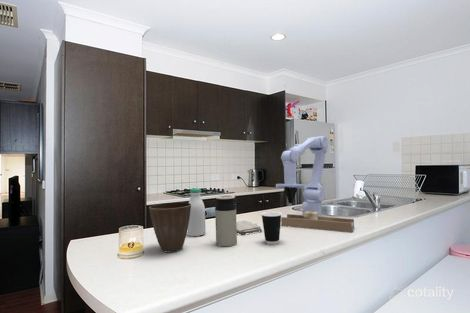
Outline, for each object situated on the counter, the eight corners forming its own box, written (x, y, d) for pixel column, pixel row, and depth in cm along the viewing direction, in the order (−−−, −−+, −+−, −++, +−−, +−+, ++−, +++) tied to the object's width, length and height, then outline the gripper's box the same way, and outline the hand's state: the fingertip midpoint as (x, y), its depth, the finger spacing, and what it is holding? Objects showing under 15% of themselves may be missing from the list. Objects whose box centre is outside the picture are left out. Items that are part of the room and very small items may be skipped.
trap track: (281, 225, 132) (281, 217, 132) (287, 222, 140) (287, 214, 140) (351, 232, 116) (351, 223, 116) (354, 227, 124) (353, 219, 124)
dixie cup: (285, 244, 102) (284, 214, 103) (264, 246, 101) (263, 216, 101) (279, 238, 110) (278, 211, 110) (259, 240, 109) (258, 212, 109)
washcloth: (240, 237, 116) (240, 229, 116) (222, 228, 132) (222, 222, 132) (264, 232, 122) (264, 225, 122) (243, 225, 138) (243, 218, 138)
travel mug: (239, 241, 108) (238, 195, 109) (233, 247, 101) (232, 198, 101) (220, 240, 110) (218, 195, 111) (213, 246, 103) (211, 197, 103)
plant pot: (147, 257, 92) (146, 209, 92) (152, 244, 107) (151, 203, 107) (193, 253, 95) (191, 207, 95) (191, 241, 110) (190, 201, 110)
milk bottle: (207, 235, 118) (206, 188, 118) (189, 238, 115) (188, 189, 115) (202, 231, 125) (201, 187, 125) (186, 233, 122) (184, 188, 123)
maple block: (304, 221, 128) (304, 213, 128) (307, 219, 133) (307, 211, 133) (315, 222, 126) (315, 213, 126) (317, 220, 130) (317, 211, 130)
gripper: (273, 175, 134) (274, 203, 134) (302, 175, 127) (303, 205, 127) (278, 174, 141) (279, 201, 140) (306, 174, 133) (307, 202, 133)
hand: (291, 203), depth 134 cm, fingers closed
